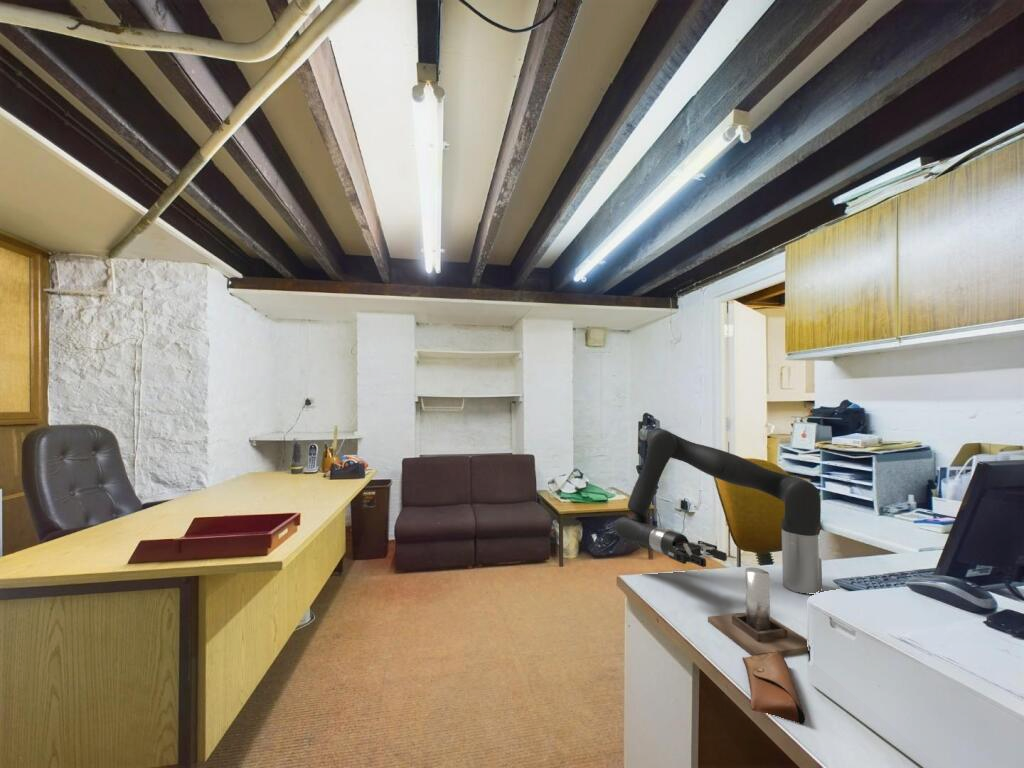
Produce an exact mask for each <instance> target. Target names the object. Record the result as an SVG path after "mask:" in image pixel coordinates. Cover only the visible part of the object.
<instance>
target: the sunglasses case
mask: <svg viewBox="0 0 1024 768" xmlns="http://www.w3.org/2000/svg"><path fill="white" fill-rule="evenodd" d="M784 657H785V656H783V655H782V653H781V652H780V651H779V650H776V651H775V652H773V653H768V654H762V655H756V656H752V655H751V656H746V657H745V656H742V661H743V663H744V666H745V669H746V673H747V678H748V679H747V680H748V685H749V690H750V702H751V703H750V705H751V706H750V707H751V709H752V710H753V711H754V712H757V713H762V714H765V715H769V714H771V715H770V716H772V715H775V716H774V717H776V716H779V717H781V718H780V719H782V718H784V719H783V720H786V719H787V721H789V720H791V721H790V722H793V721H795V722H794V723H796V722H797V723H796V724H800V725H801V724H802V725H801V726H803V725H805V723H806V715H805V712H804V709H803V705H802V703H801V700H800V696H799V693H798V690H797V688H796V685H795V681H794V679H793V677H792V674H791V671H790V668H789V666H788V664H787V661H786V659H785V658H784ZM766 713H768V714H766ZM779 717H778V718H779ZM798 722H799V723H798Z"/></svg>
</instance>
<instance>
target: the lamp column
mask: <svg viewBox="0 0 1024 768" xmlns="http://www.w3.org/2000/svg"><path fill="white" fill-rule="evenodd" d="M770 591H771V589H770V572H768V571H767V570H764V569H762V568H757V567H746V568H745V609H746V611H745V612H746V624H748V625H749V626H750V627H752V628H753V629H755V630H756V631H758V632H760V631H767V630H770V617H771V600H770V599H771V598H770V597H771V596H770Z"/></svg>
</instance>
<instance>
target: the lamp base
mask: <svg viewBox="0 0 1024 768" xmlns="http://www.w3.org/2000/svg"><path fill="white" fill-rule="evenodd" d="M707 623H709V624H711V625H712V626H713V627H714V628H716V629H717V630H718V631H720V632H721V633H722V634H723V635H725V636H726V637H727V638H728V639H730V640H731V641H733V642H734V643H735V644H736V645H737V646H739V647H740V648H741V649H742V650H744V651H745V652H746V653H748V654H749V655H751V656H756V655H762V654H768V653H773V652H775V651H776V650H779V651H780V652H781V653H782V655H783V657H785V656H786V657H787V656H792V655H799V653H800V654H807V653H808V652H807V651H808V647H807V640H808V639H807V638H805V637H804V636H802V635H800V634H799V633H798V632H795V630H792V629H791V628H789V627H787V626H786V625H784V624H783V623H782V622H779V621H778V620H777V619H775V618H773V617H771V616H770V630H767V631H760V632H758V631H756V630H755V629H753V628H752V627H750V626H749V625H748V624H746V611H745V612H736V613H729V614H728V613H727V614H720V615H719V614H718V615H712V616H707Z"/></svg>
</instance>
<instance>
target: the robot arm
mask: <svg viewBox="0 0 1024 768" xmlns="http://www.w3.org/2000/svg"><path fill="white" fill-rule="evenodd" d="M670 459H675V460H677V461H680V462H683V463H686V464H688V465H689V466H691V467H693V468H696V469H697V470H699V471H701V472H703V473H704V474H706V475H709V476H711V477H713V478H716V479H718V480H721V481H723V482H726V483H729V484H732V485H736V486H740V487H744V488H748V489H755V490H757V491H761V492H763V493H765V494H767V495H770V496H772V497H774V498H776V499H777V500H780V501H782V502H783V503H784V516H783V518H782V519H781V523H780V524H781V553H782V554H781V555H782V557H781V560H782V567H781V568H782V586H783V587H784V588H786V589H788V590H789V591H792V592H795V593H798V592H800V593H799V594H802V593H808V594H807V595H809V593H816V592H818V591H820V590H821V589H822V590H823V570H822V569H823V567H822V563H823V561H822V558H820V557H819V556H820V554H819V551H820V550H819V528H820V526H821V518H822V517H821V515H822V512H821V511H822V508H821V507H822V505H821V504H822V503H821V502H822V501H821V494H820V491H819V489H818V488H817V486H815V484H813V483H811V482H809V481H808V480H805V479H803V478H801V477H798V476H793V475H789V474H786V473H785V474H784V473H780V472H778V471H773V470H770V469H768V468H765V467H762V466H761V465H760V464H759V465H758V464H757V463H755V462H753V461H751V460H748V459H746V458H743V457H741V456H739V455H736V454H733V453H730V452H729V451H725V450H723V449H719V448H715V447H712V446H707V445H704V444H700V443H696V442H693V441H690V440H688V439H685V438H682V437H681V436H679V435H676V434H674V433H672V432H671V431H669V430H667V429H663V428H659V429H655V430H653V431H652V432H651V433H649V435H648V437H647V450H646V456H645V460H644V464H643V466H642V470H641V471H640V474H639V476H638V478H637V480H636V482H635V483H634V486H633V489H632V491H631V493H630V496H629V500H628V503H627V510H629V511H630V512H632V517H628V516H621V517H619V518H617V520H616V521H615V523H614V530H615V533H616V534H617V536H618V537H620V538H621V539H624V540H626V541H630V542H633V543H637V544H640V545H642V546H645V547H647V548H648V549H651V550H654V551H655V552H657V553H660V554H661V555H664V556H667V557H668V558H669V559H672V560H674V561H676V562H678V563H680V564H683V565H686V564H687V563H688V564H695V565H697V566H699V567H702V568H705V567H707V559H706V558H707V557H710V558H714V559H717V560H720V561H723V562H726V561H727V559H728V557H727V553H726V552H724V551H722V550H719V549H718V546H717V545H715V544H712V543H708V542H705V541H702V540H697V543H696V542H694V541H689V539H688V538H687V536H686V535H685V534H683V533H679V532H676V531H673V530H670V529H668V528H666V527H665V528H664V527H659V526H656V525H654V524H651V523H650V524H649V523H648V519H649V518H648V517H649V510H650V508H651V505H652V503H653V500H654V497H655V494H656V491H657V488H658V486H659V482H660V480H661V479H660V478H661V476H662V474H663V472H664V469H665V468H666V466H667V464H668V462H669V460H670ZM701 552H702V553H701ZM820 592H821V591H820Z"/></svg>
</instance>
